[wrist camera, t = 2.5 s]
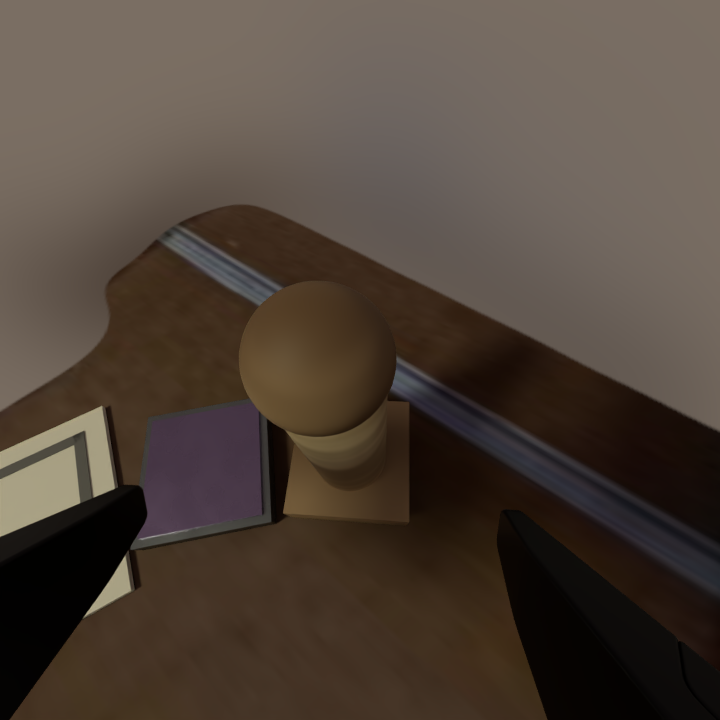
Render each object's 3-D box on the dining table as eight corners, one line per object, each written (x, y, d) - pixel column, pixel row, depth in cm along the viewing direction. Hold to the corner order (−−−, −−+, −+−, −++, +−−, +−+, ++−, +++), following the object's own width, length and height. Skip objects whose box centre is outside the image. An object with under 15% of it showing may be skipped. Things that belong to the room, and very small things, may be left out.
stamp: (405, 527, 18) (455, 460, 5) (298, 519, 18) (117, 442, 6) (405, 422, 21) (440, 218, 8) (312, 418, 21) (210, 219, 9)
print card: (135, 590, 17) (129, 590, 17) (-119, 731, 15) (-131, 735, 15) (105, 407, 22) (100, 405, 22) (-88, 495, 20) (-96, 494, 20)
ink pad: (276, 523, 18) (270, 521, 17) (142, 550, 18) (127, 549, 17) (270, 402, 22) (264, 394, 21) (157, 422, 21) (146, 416, 20)
